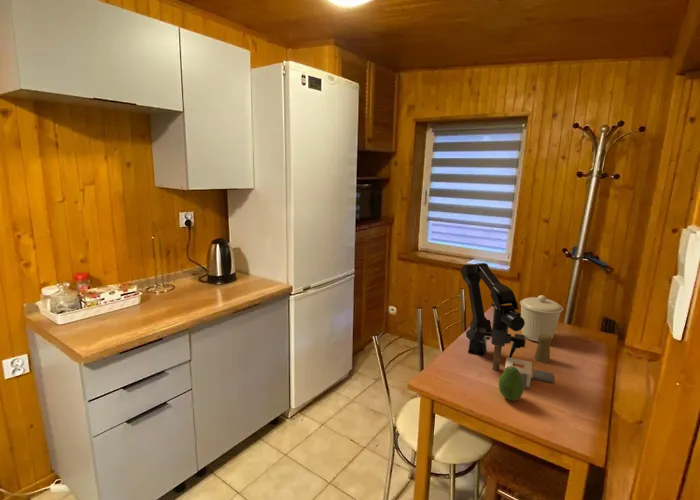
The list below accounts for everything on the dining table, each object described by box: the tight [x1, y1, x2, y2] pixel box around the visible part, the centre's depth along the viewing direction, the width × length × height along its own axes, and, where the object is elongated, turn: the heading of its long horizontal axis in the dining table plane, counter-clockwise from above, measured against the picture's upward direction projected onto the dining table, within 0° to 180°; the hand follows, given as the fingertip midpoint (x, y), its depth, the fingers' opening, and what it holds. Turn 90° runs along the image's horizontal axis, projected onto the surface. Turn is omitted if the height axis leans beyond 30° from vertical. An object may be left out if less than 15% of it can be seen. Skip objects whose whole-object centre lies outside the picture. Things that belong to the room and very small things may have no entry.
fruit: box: [498, 365, 525, 401], centre depth 136 cm, size 8×8×12 cm
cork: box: [533, 334, 553, 364], centre depth 163 cm, size 6×6×11 cm
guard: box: [504, 356, 533, 390], centre depth 148 cm, size 9×9×6 cm
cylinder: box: [491, 345, 503, 372], centre depth 155 cm, size 3×3×11 cm
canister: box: [519, 294, 564, 343], centre depth 182 cm, size 18×18×21 cm
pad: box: [532, 368, 554, 384], centre depth 151 cm, size 7×7×1 cm
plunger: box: [513, 364, 524, 375], centre depth 148 cm, size 3×3×2 cm
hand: (497, 356), depth 155 cm, fingers open, 9 cm apart
